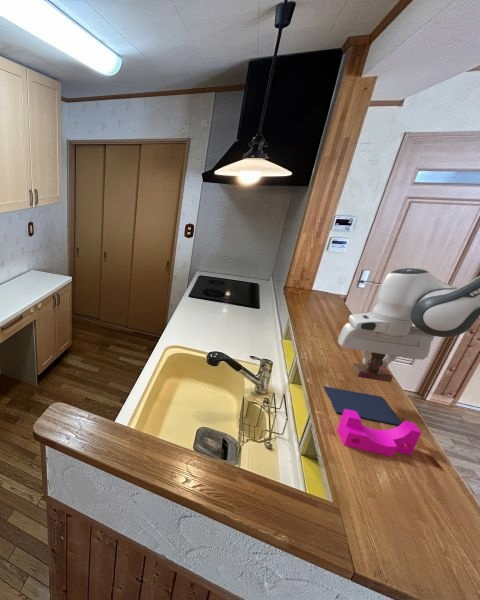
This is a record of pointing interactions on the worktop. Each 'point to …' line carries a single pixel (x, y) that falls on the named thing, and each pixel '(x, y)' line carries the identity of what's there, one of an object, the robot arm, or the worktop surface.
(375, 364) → the stamp
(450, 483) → the worktop surface
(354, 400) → the ink pad
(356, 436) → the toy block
